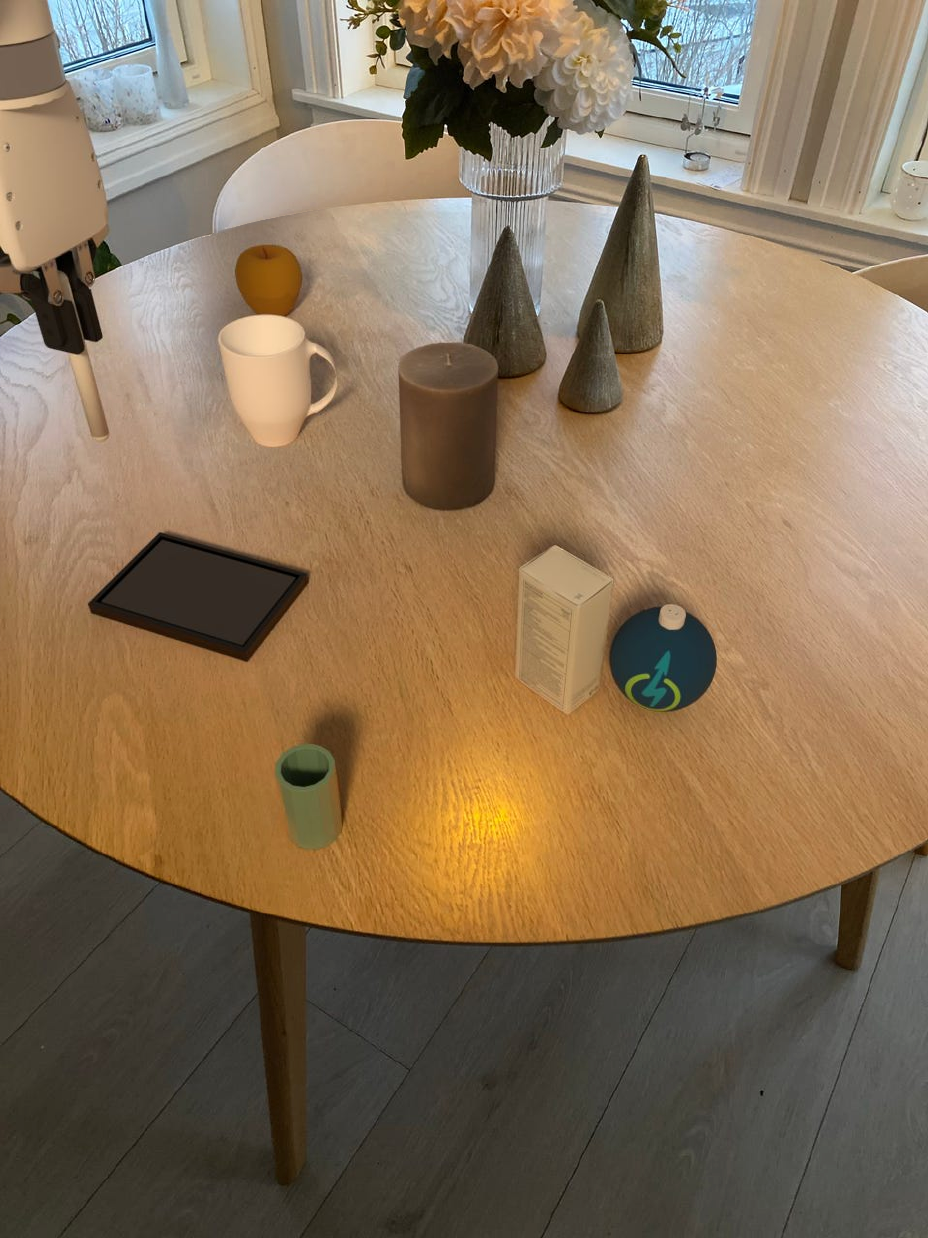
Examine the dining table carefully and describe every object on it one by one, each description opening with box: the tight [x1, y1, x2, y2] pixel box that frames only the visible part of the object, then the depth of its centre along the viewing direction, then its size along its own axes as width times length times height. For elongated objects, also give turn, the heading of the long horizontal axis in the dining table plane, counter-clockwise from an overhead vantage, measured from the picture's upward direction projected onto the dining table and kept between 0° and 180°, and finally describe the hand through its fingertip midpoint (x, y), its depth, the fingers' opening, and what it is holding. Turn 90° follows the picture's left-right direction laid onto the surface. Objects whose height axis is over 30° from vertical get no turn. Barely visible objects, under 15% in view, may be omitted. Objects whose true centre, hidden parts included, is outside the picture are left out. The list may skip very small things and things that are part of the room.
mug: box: [217, 314, 338, 448], centre depth 103 cm, size 12×9×12 cm
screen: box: [101, 540, 296, 647], centre depth 86 cm, size 14×9×1 cm, turn 69°
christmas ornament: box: [608, 603, 718, 713], centre depth 76 cm, size 8×8×10 cm
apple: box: [234, 244, 303, 317], centre depth 125 cm, size 8×8×9 cm
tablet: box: [87, 531, 309, 663], centre depth 87 cm, size 16×11×1 cm
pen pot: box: [274, 743, 343, 851], centre depth 67 cm, size 4×4×7 cm
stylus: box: [57, 270, 110, 443], centre depth 73 cm, size 1×1×14 cm
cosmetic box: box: [514, 544, 615, 716], centre depth 76 cm, size 6×4×12 cm
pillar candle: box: [397, 341, 499, 512], centre depth 95 cm, size 10×10×15 cm
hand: (74, 342), depth 72 cm, fingers closed on stylus, 1 cm apart
